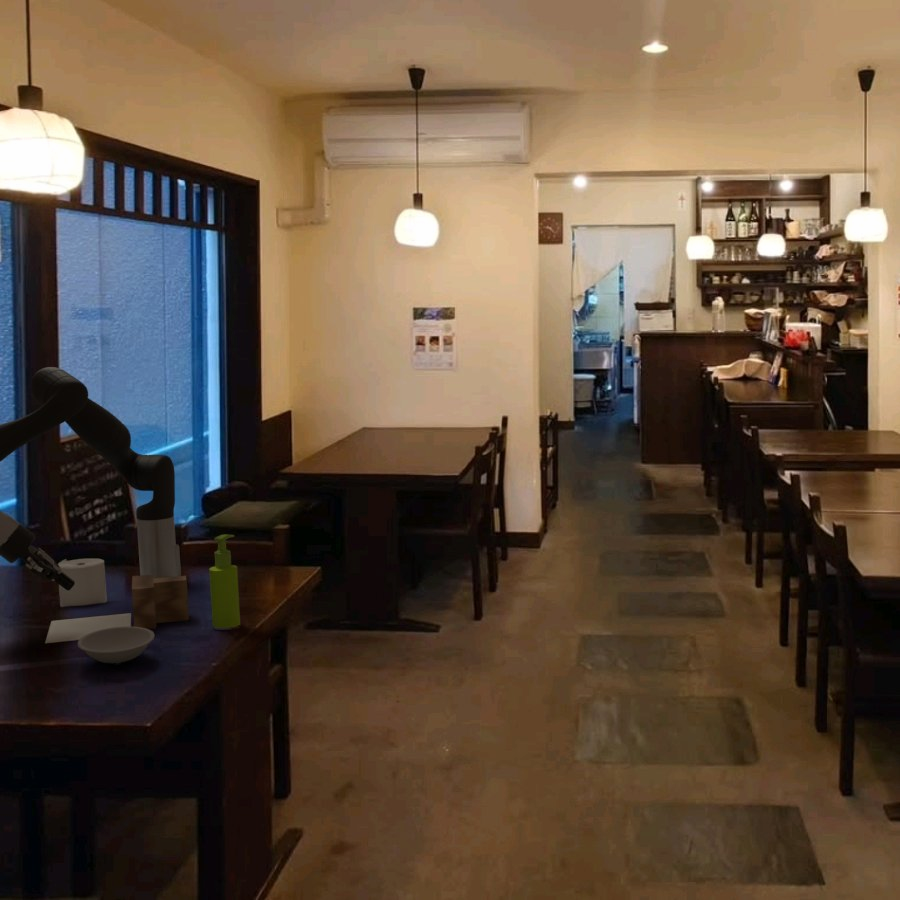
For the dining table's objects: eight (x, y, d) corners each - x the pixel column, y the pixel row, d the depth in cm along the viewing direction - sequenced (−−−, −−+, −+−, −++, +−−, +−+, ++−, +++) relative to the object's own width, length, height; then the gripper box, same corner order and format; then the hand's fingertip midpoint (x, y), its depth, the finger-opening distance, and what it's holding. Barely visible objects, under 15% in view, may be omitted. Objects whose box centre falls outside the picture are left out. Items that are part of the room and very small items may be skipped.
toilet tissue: (92, 610, 253) (89, 568, 252) (46, 609, 255) (42, 567, 254) (115, 598, 263) (112, 558, 262) (70, 597, 266) (67, 557, 264)
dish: (158, 671, 206) (157, 646, 205) (79, 681, 201) (77, 655, 201) (153, 646, 222) (151, 622, 222) (79, 655, 218) (77, 631, 217)
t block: (134, 630, 231) (131, 589, 230) (135, 615, 244) (132, 576, 242) (189, 625, 234) (187, 584, 233) (187, 610, 247) (185, 571, 245)
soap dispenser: (247, 622, 238) (242, 533, 236) (231, 631, 232) (226, 539, 229) (224, 620, 240) (219, 532, 238) (207, 629, 234) (202, 538, 231)
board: (45, 647, 224) (44, 643, 223) (52, 625, 241) (51, 620, 241) (193, 632, 232) (193, 627, 232) (190, 611, 249) (189, 607, 249)
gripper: (-3, 544, 234) (62, 593, 239) (-11, 556, 221) (58, 607, 226) (21, 517, 235) (85, 567, 240) (15, 528, 222) (82, 580, 227)
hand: (72, 586), depth 233 cm, fingers closed
